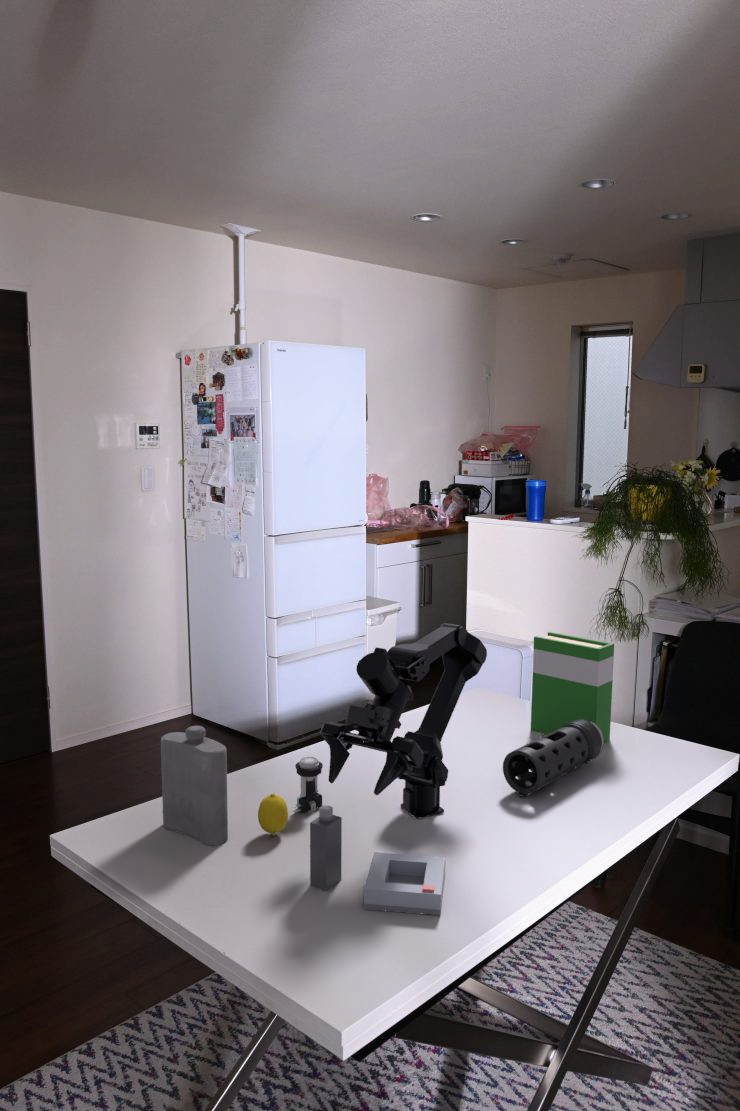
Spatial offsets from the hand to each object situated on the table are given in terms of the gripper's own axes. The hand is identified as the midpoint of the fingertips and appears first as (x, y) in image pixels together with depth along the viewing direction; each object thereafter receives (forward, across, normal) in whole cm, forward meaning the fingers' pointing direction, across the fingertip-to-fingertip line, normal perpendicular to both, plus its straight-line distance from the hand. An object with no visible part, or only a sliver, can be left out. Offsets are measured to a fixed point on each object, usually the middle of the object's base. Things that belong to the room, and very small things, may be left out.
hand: (352, 788), depth 150 cm
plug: (+15, 0, +4) cm, 16 cm away
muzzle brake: (-29, +17, +49) cm, 59 cm away
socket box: (+12, +13, +7) cm, 19 cm away
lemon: (+9, -18, +10) cm, 23 cm away
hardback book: (-49, +10, +68) cm, 84 cm away
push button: (0, -19, +19) cm, 27 cm away
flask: (+14, -31, +6) cm, 34 cm away
